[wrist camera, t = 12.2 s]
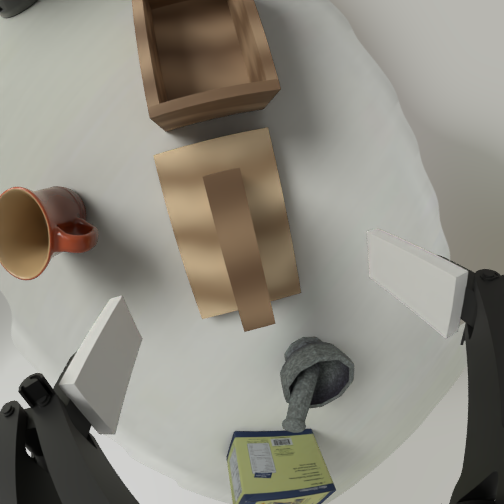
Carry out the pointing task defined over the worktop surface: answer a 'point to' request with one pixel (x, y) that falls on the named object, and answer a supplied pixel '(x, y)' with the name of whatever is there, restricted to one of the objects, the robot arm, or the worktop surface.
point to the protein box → (277, 468)
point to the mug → (41, 228)
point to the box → (202, 59)
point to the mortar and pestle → (312, 378)
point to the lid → (231, 224)
